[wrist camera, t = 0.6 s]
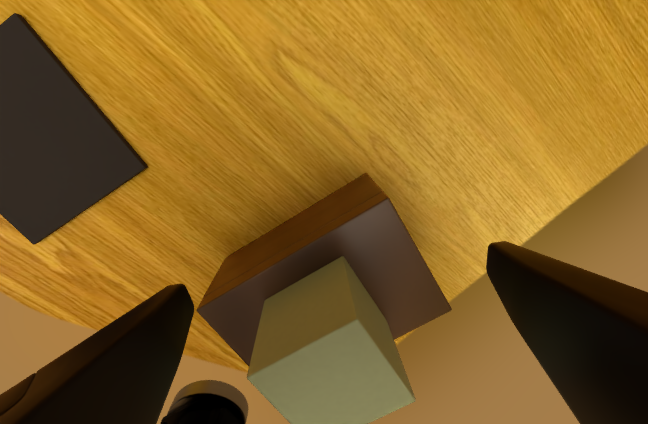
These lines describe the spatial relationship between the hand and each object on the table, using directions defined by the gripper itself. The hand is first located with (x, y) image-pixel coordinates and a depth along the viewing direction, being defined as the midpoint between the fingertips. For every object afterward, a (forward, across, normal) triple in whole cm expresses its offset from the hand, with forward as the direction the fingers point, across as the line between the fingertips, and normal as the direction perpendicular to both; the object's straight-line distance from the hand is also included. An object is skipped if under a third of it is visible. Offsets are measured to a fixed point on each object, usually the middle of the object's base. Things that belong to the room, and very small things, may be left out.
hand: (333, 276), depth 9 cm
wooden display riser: (+12, +2, +7) cm, 14 cm away
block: (+6, +1, +6) cm, 9 cm away
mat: (+12, +18, -4) cm, 22 cm away
